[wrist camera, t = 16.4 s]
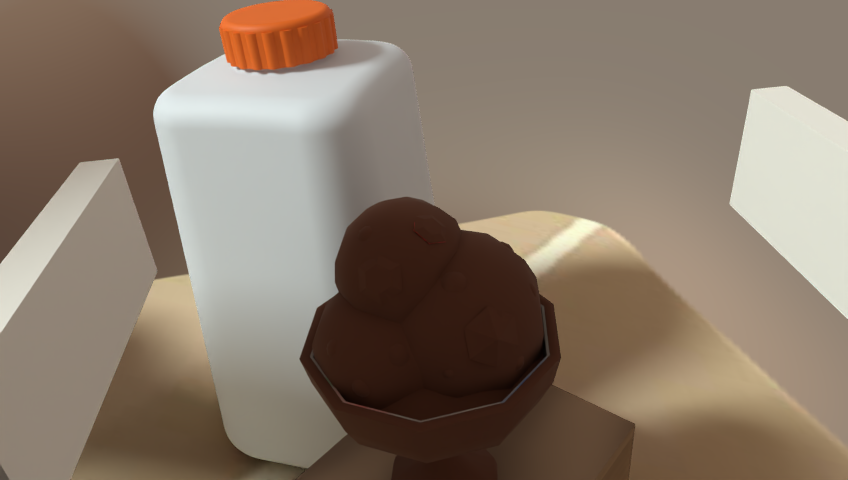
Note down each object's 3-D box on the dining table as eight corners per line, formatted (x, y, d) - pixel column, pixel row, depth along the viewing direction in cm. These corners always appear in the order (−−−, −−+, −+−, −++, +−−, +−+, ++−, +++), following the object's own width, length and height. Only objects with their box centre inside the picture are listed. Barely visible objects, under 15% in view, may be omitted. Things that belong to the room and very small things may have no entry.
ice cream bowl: (316, 582, 29) (240, 309, 21) (357, 396, 39) (315, 160, 31) (563, 589, 28) (578, 304, 20) (543, 396, 38) (548, 150, 30)
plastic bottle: (414, 500, 42) (355, 55, 27) (205, 457, 46) (56, 52, 32) (470, 343, 54) (449, -23, 39) (300, 321, 58) (225, -17, 44)
